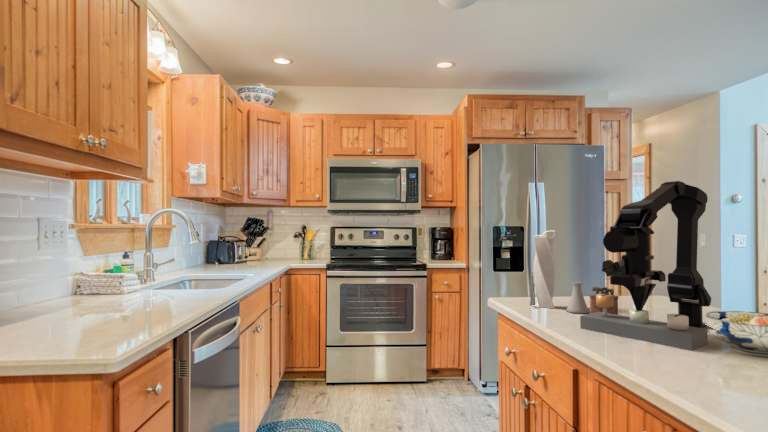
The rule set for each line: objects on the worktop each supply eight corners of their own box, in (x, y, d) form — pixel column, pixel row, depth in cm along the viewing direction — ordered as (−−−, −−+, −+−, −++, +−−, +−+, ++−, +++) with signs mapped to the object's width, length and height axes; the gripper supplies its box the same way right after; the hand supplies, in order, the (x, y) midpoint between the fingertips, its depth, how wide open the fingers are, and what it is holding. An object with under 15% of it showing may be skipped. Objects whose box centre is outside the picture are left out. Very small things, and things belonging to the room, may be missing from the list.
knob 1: (601, 315, 122) (600, 292, 123) (616, 318, 119) (616, 294, 119) (593, 317, 120) (592, 294, 120) (609, 320, 116) (608, 296, 116)
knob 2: (671, 338, 108) (671, 312, 108) (692, 342, 104) (691, 315, 104) (664, 341, 105) (663, 314, 105) (685, 345, 101) (684, 317, 102)
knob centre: (634, 332, 115) (634, 307, 115) (652, 335, 111) (651, 310, 111) (626, 334, 112) (626, 309, 113) (644, 338, 109) (644, 312, 109)
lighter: (619, 319, 131) (618, 287, 131) (618, 321, 128) (617, 288, 128) (590, 316, 135) (589, 285, 135) (589, 318, 132) (588, 286, 132)
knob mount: (598, 323, 126) (598, 311, 126) (707, 343, 104) (707, 329, 104) (580, 328, 120) (580, 315, 120) (691, 350, 98) (691, 335, 98)
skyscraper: (553, 305, 156) (551, 230, 156) (560, 310, 148) (558, 230, 148) (529, 305, 156) (528, 230, 157) (535, 309, 148) (534, 230, 149)
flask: (592, 314, 138) (591, 284, 139) (568, 313, 140) (568, 283, 140) (586, 310, 146) (585, 281, 146) (563, 309, 147) (563, 280, 147)
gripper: (623, 249, 124) (624, 302, 124) (589, 251, 114) (590, 309, 113) (665, 250, 115) (667, 307, 115) (633, 253, 105) (634, 316, 104)
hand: (639, 310), depth 112 cm, fingers closed, pressing on knob centre
